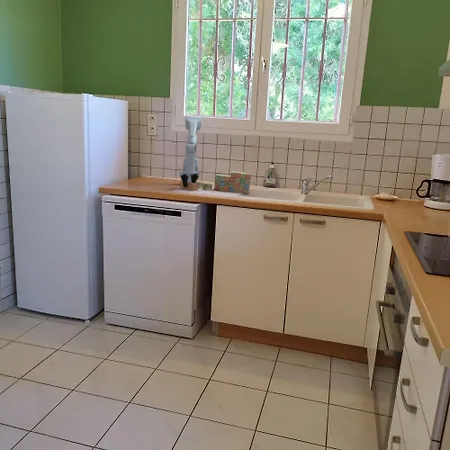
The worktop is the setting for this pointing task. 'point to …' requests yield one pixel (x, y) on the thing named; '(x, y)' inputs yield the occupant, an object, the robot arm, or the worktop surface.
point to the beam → (189, 186)
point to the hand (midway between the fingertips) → (188, 187)
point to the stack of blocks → (233, 182)
